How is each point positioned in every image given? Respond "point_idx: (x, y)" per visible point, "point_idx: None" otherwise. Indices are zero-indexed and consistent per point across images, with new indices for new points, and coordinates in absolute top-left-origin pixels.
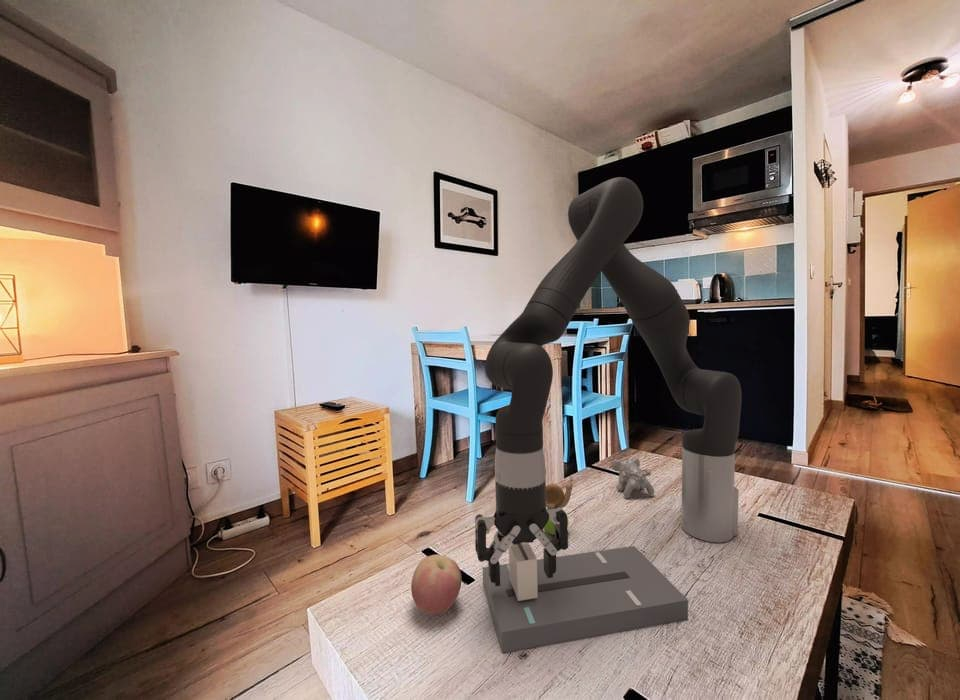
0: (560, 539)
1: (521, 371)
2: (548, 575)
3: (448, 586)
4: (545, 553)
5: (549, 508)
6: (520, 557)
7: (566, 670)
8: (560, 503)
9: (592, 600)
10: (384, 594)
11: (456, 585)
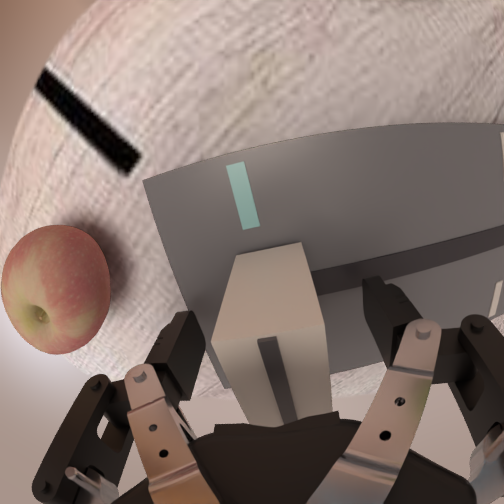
0: (458, 405)
1: None
2: (367, 321)
3: (83, 345)
4: (388, 343)
5: None
6: (269, 421)
7: (331, 378)
8: None
9: (435, 313)
10: (13, 225)
11: (95, 327)
